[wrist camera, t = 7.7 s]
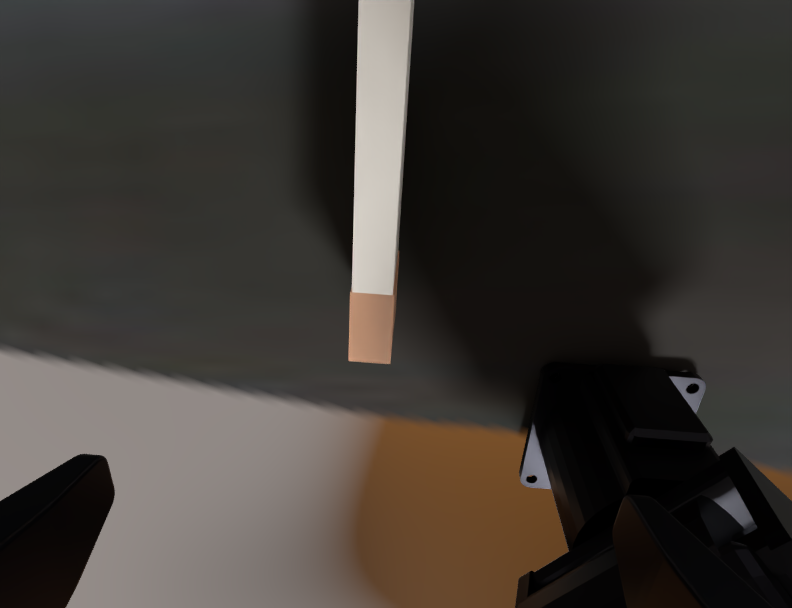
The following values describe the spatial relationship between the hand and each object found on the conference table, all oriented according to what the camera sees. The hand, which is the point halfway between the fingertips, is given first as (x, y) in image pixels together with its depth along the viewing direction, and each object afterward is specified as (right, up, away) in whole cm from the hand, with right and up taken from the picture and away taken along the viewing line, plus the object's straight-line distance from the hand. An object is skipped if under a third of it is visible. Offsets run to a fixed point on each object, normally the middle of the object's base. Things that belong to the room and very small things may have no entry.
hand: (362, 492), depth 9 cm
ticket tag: (0, +10, +7) cm, 12 cm away
